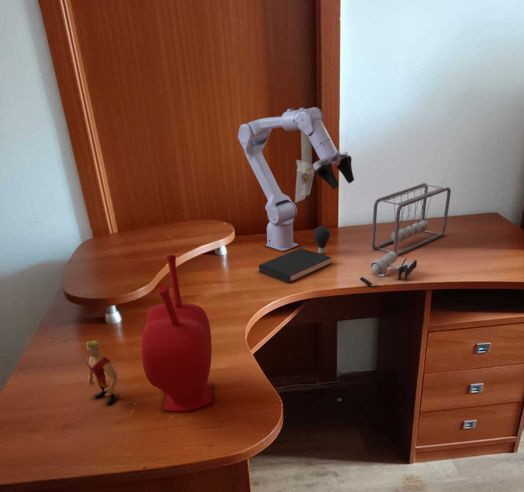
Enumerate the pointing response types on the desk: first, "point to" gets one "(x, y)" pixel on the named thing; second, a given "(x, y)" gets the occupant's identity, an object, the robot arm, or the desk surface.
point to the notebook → (294, 265)
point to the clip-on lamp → (382, 264)
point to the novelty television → (178, 349)
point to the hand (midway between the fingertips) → (343, 184)
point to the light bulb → (321, 238)
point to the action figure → (100, 370)
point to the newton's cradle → (413, 228)
